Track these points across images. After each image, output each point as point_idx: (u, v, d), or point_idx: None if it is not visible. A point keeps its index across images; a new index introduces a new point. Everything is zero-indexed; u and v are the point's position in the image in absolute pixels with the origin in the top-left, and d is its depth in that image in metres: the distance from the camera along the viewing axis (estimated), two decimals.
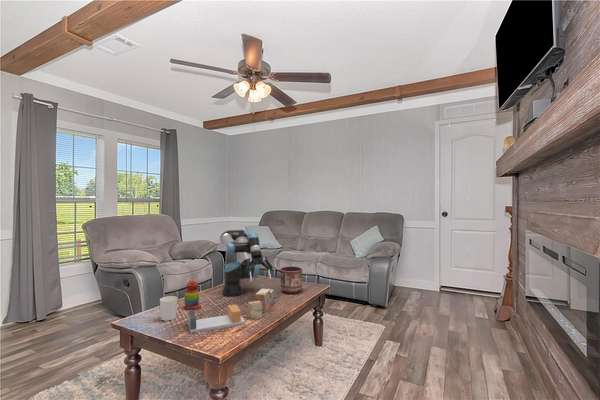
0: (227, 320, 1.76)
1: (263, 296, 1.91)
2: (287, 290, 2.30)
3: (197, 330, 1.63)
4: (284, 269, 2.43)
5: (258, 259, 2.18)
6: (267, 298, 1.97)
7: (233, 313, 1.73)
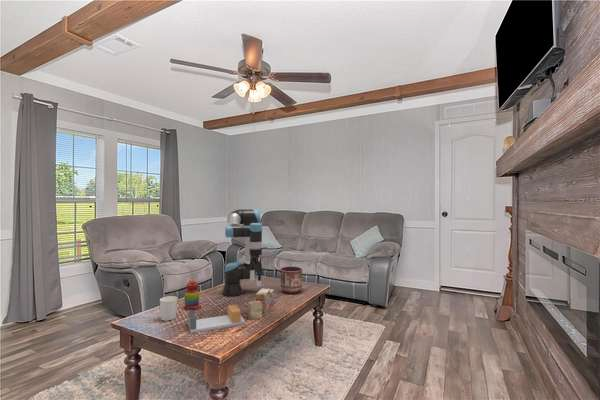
0: (227, 320, 1.76)
1: (263, 296, 1.91)
2: (287, 290, 2.30)
3: (197, 330, 1.63)
4: (284, 269, 2.43)
5: None
6: (267, 298, 1.97)
7: (233, 313, 1.73)
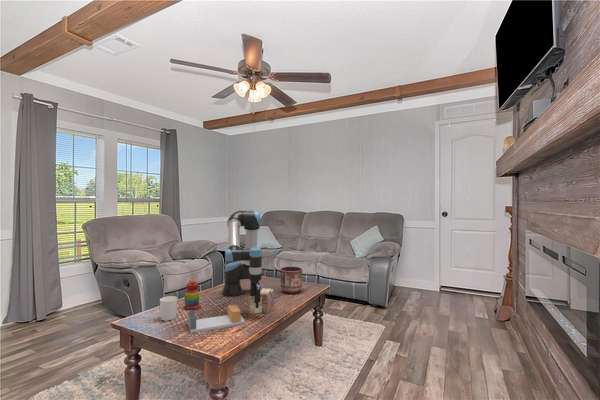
0: (227, 320, 1.76)
1: (266, 296, 1.92)
2: (287, 290, 2.30)
3: (197, 330, 1.63)
4: (284, 269, 2.43)
5: (253, 283, 1.83)
6: (269, 298, 1.97)
7: (233, 313, 1.73)
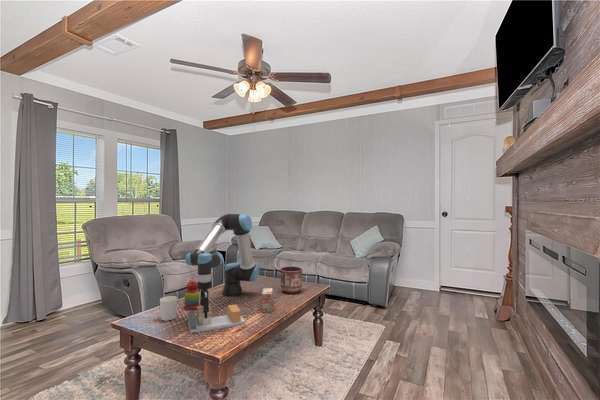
0: (227, 320, 1.76)
1: (270, 295, 1.93)
2: (287, 290, 2.30)
3: (197, 330, 1.63)
4: (284, 269, 2.43)
5: (202, 292, 1.71)
6: None
7: (233, 313, 1.73)
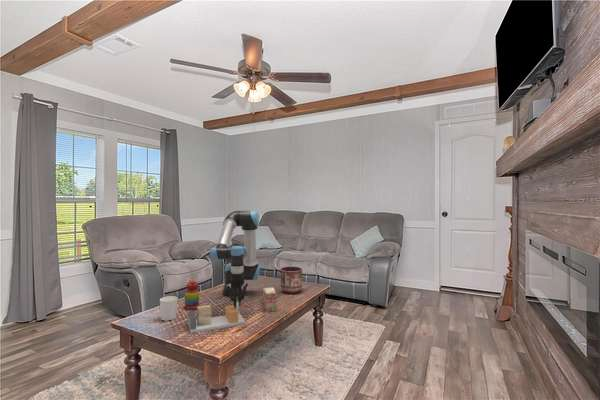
0: (227, 320, 1.76)
1: (274, 294, 1.94)
2: (287, 290, 2.30)
3: (197, 330, 1.63)
4: (284, 269, 2.43)
5: (239, 282, 1.79)
6: None
7: (230, 313, 1.72)
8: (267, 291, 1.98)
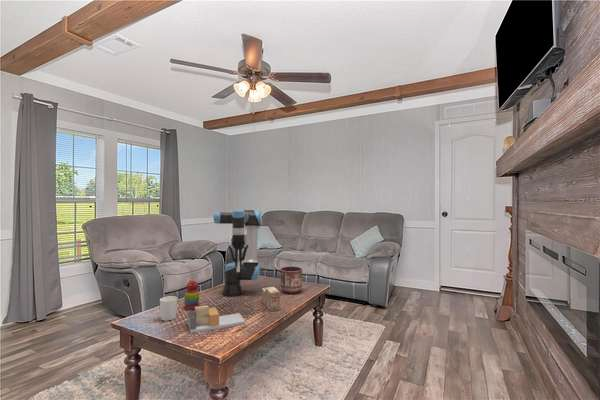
0: (227, 320, 1.76)
1: (278, 293, 1.97)
2: (287, 290, 2.30)
3: (197, 330, 1.63)
4: (284, 269, 2.43)
5: (240, 243, 1.90)
6: None
7: (211, 316, 1.67)
8: (270, 290, 1.99)
